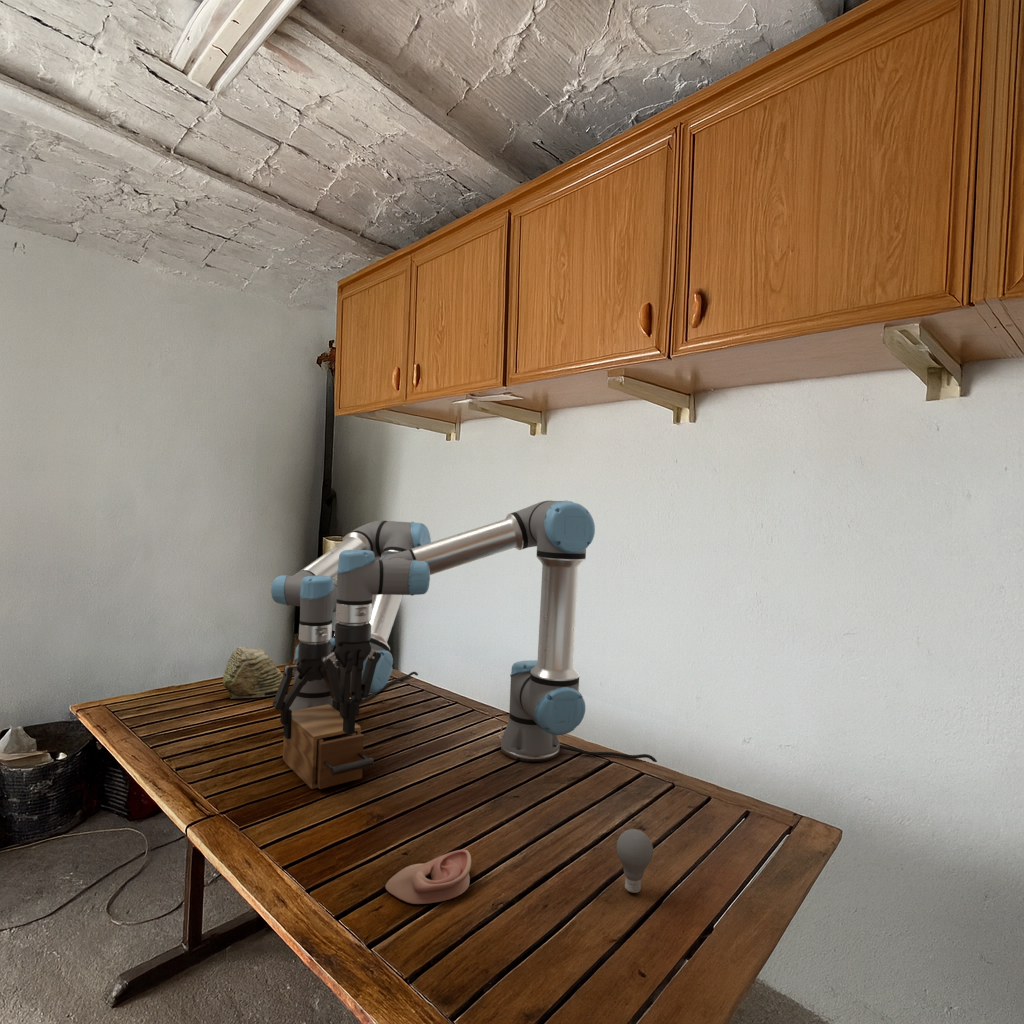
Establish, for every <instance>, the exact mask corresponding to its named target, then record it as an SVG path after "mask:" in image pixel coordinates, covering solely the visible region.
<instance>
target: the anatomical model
mask: <svg viewBox="0 0 1024 1024" xmlns="http://www.w3.org/2000/svg"><path fill="white" fill-rule="evenodd" d="M471 868H472V856H471V853H470V852H469V850H467V849H457V850H454V851H451V852H450V851H449V852H447V853H445V854H442V855H440V856H437V857H436V858H434V859H431V860H429V861H427V862H424V863H414V864H411V865H408V866H406V867H404V868H402V869H400V870H399V871H398V872H396V873H395V874H394V875H393V876H391V877H390V879H388V880H387V882H386V884H385V890H386V891H387V892H388V893H389V894H390V895H392V896H393V897H395V898H397V899H399V900H401V901H403V902H405V903H407V904H410V905H411V904H412V905H426V904H433V903H439V902H444V901H447V900H451V899H454V898H456V897H459V896H460V895H462V894H463V893H465V892H466V891H467V890H468V889H469V887H470V883H471V881H470V880H471V878H470V871H471Z"/></svg>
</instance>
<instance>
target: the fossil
mask: <svg viewBox="0 0 1024 1024" xmlns="http://www.w3.org/2000/svg"><path fill="white" fill-rule="evenodd" d="M283 675H284V674H283V672H281V669H279V668H278V667H277V665H276V663H275V662H274V660H273V659H272V658H271V657H270V656H269V655H268V654H267V653H266V652H265V650H264V649H263V648H260V647H258V648H251V647H247V646H246V647H245V646H238V647H237V648H236V649H235V650H233V651H232V653H231V656H230V657H229V659H228V660H227V663H226V666H225V668H224V671H223V675H222V676H223V677H222V685H223V687H224V688H225V690H226V691H228V693H229V698H230V699H250V698H264V697H271V696H276V694H277V691H278V688H279V686H280V683H281V680H282V678H283Z"/></svg>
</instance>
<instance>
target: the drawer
mask: <svg viewBox="0 0 1024 1024" xmlns="http://www.w3.org/2000/svg"><path fill="white" fill-rule="evenodd" d="M364 739H365V735H364V734H363V733H361V734H358V735H356V733H354V734H349V735H348V734H347V733H345V734H341V735H336V736H331V737H326V738H322V739H317V755H316V781H317V782H318V788H317V789H319V790H322V789H327V788H330V787H333V786H338V785H341V784H346V783H349V782H353V781H357V780H360V779H363V769H365V768H370V767H373V766H374V764H375V762H374V758H373V757H367V756H366V755H364V745H365V744H364V743H365V742H364V741H365V740H364Z"/></svg>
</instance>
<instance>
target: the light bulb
mask: <svg viewBox="0 0 1024 1024" xmlns="http://www.w3.org/2000/svg"><path fill="white" fill-rule="evenodd" d="M615 849H616V854H617V857H618V859H619V861H620V863H621V865H622V867H623V873H624V874H623V875H624V876H625V878H624V888H625V890H627V891H628V892H630V893H634V894H635V893H639V892H640V891H641V889H642V887H641V886H642V879H643V877H644V875H645V871H646V868H647V867H648V866H649V864H650V863H651V861H652V859H653V855H654V847H653V843H652V841H651V838H649V836H648V835H647V834H646V833H645V832H643V831H642V830H641V829H636V828H629V829H627V830H625V831H623V832H622V833H621V834H620V835H619V837H618V839H617V841H616V847H615Z"/></svg>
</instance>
